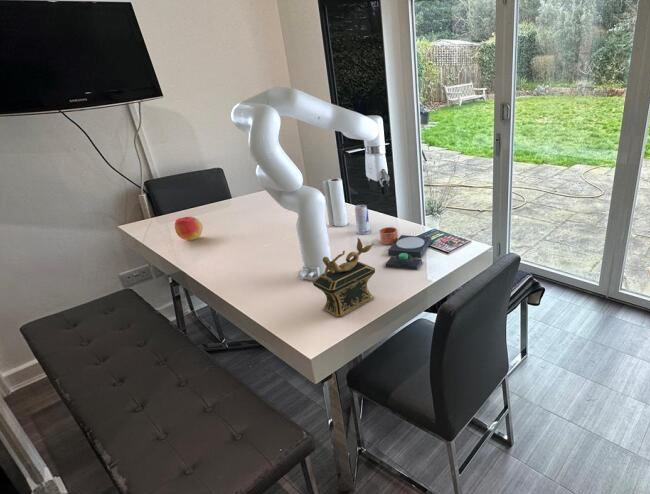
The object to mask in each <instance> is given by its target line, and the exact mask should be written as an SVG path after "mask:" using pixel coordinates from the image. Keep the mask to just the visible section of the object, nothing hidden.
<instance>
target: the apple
mask: <svg viewBox="0 0 650 494" xmlns="http://www.w3.org/2000/svg"><path fill="white" fill-rule="evenodd" d="M174 231H175V233H176V235H177V236H178V237H179V238H181V239H182V240H184V241H194V240H196V239H199V238H200V236H201V234H202V233H203V224H202V222H201V221H200V220H199V219H198V218H196V217H194V216H184V217H179V218H176V219H175V220H174Z"/></svg>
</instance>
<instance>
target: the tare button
mask: <svg viewBox="0 0 650 494" xmlns="http://www.w3.org/2000/svg"><path fill="white" fill-rule="evenodd" d="M399 259H400V260H406V259H408V254H407V253H401V254H399Z"/></svg>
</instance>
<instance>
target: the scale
mask: <svg viewBox="0 0 650 494" xmlns="http://www.w3.org/2000/svg"><path fill="white" fill-rule="evenodd" d="M431 244H432V237H431V236H421V235H420V236H418V235H405V234H401V235H400V236H398V239H397V241H396V242H395V243H394V244H391V245H390V248H388V250H387V251H388V256H390V257H396V256H398V255H399V254H401V253H407V254H409V255H411V256H412V258H414V259H421V258H422V257H423V256H424V254H425V253H426V251H427V250H428V248H429V247H430V245H431Z"/></svg>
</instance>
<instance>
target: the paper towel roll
mask: <svg viewBox="0 0 650 494" xmlns="http://www.w3.org/2000/svg"><path fill="white" fill-rule="evenodd" d="M322 187H323V194H324V198H325V207H326V212H327V219H328V224H329V225H328V226H330V227H331V226H333V225H334V226H335V227H345V226H347V225H348V223H349V222H348V217H347V216H348V215H347V208H346V202H345V201H346V200H345V193H344V186H343V179H342V178H339V177H338V178H329V179H326V180H323V181H322Z"/></svg>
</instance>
